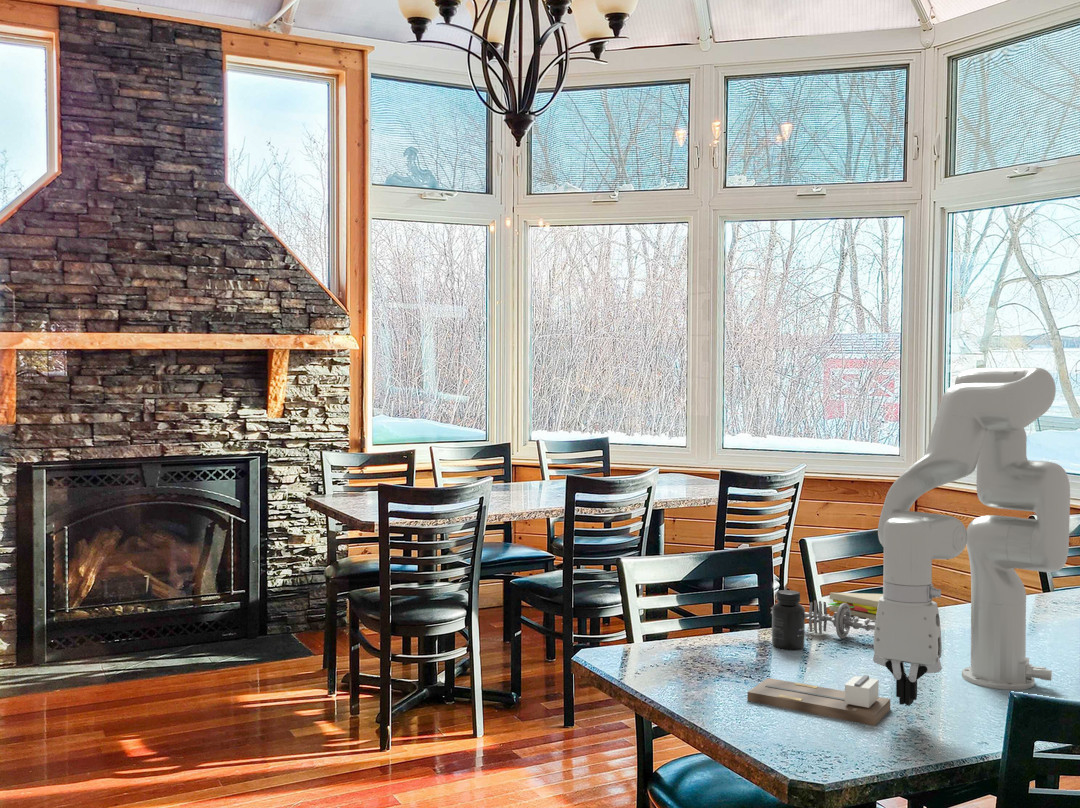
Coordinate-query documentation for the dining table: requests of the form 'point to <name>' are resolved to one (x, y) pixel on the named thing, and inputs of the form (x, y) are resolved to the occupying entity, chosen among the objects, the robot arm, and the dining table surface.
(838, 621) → the spaceship
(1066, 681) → the dining table surface
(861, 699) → the fader knob
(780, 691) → the fader track
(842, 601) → the sandwich
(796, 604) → the supplement bottle
